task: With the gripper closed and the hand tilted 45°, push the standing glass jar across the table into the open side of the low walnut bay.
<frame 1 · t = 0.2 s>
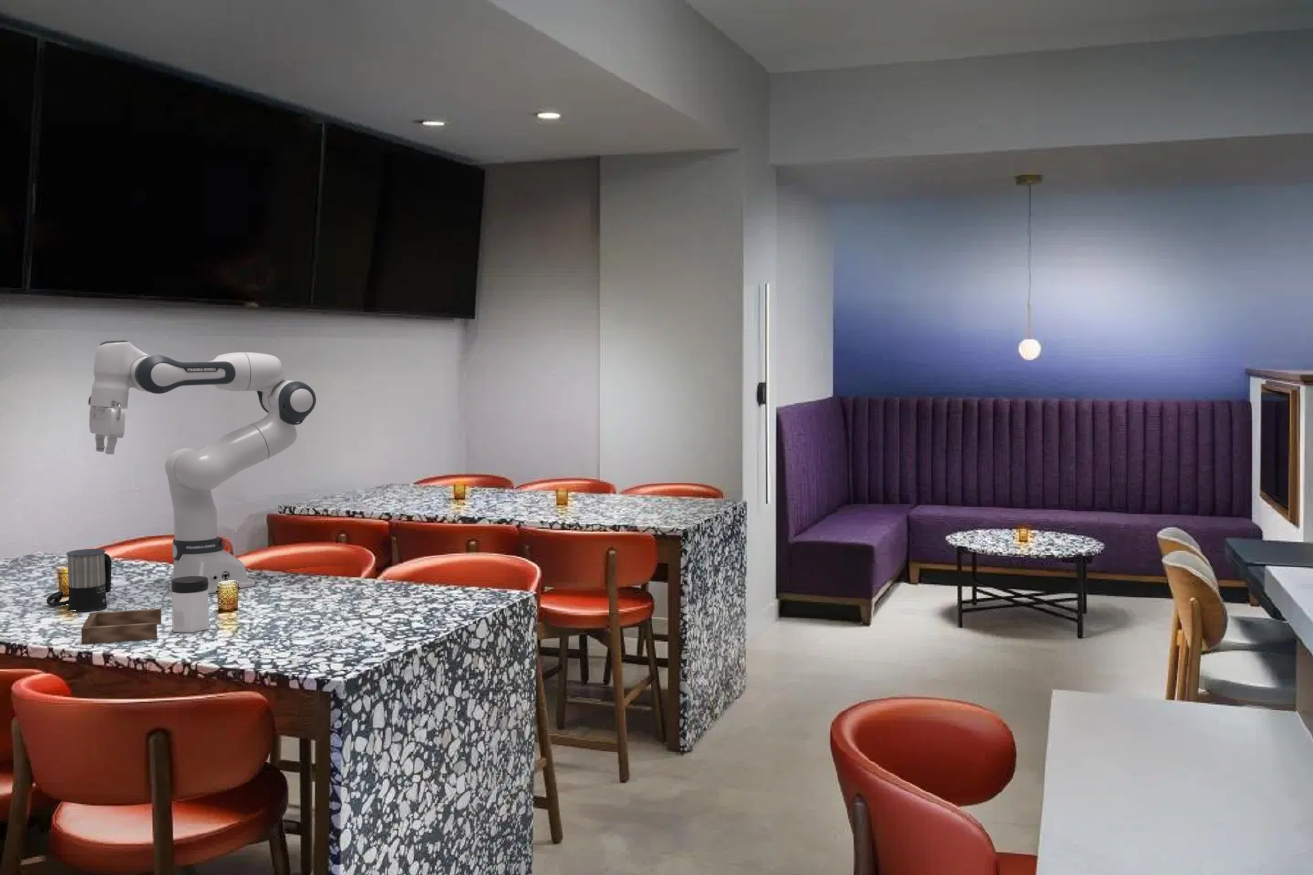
hand: (104, 452, 302), 39 cm above the table, tool pointing down, fingers open, 8 cm apart
jar: (190, 629, 273), on the table
bay: (126, 632, 268), on the table
milk frother: (76, 607, 295), on the table
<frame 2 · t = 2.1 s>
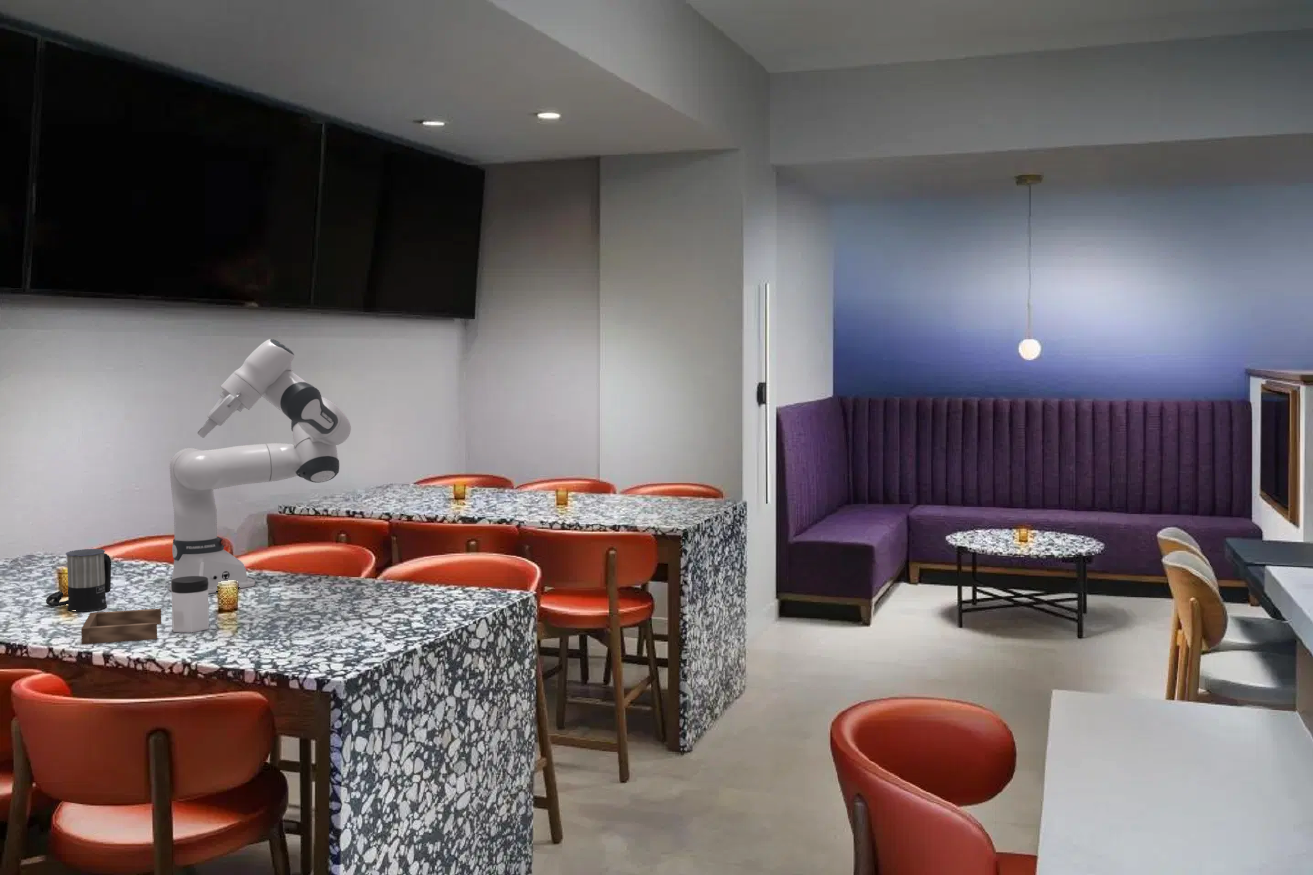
hand: (199, 435, 278), 46 cm above the table, tool tilted 40°, fingers open, 8 cm apart
nothing on the table moved.
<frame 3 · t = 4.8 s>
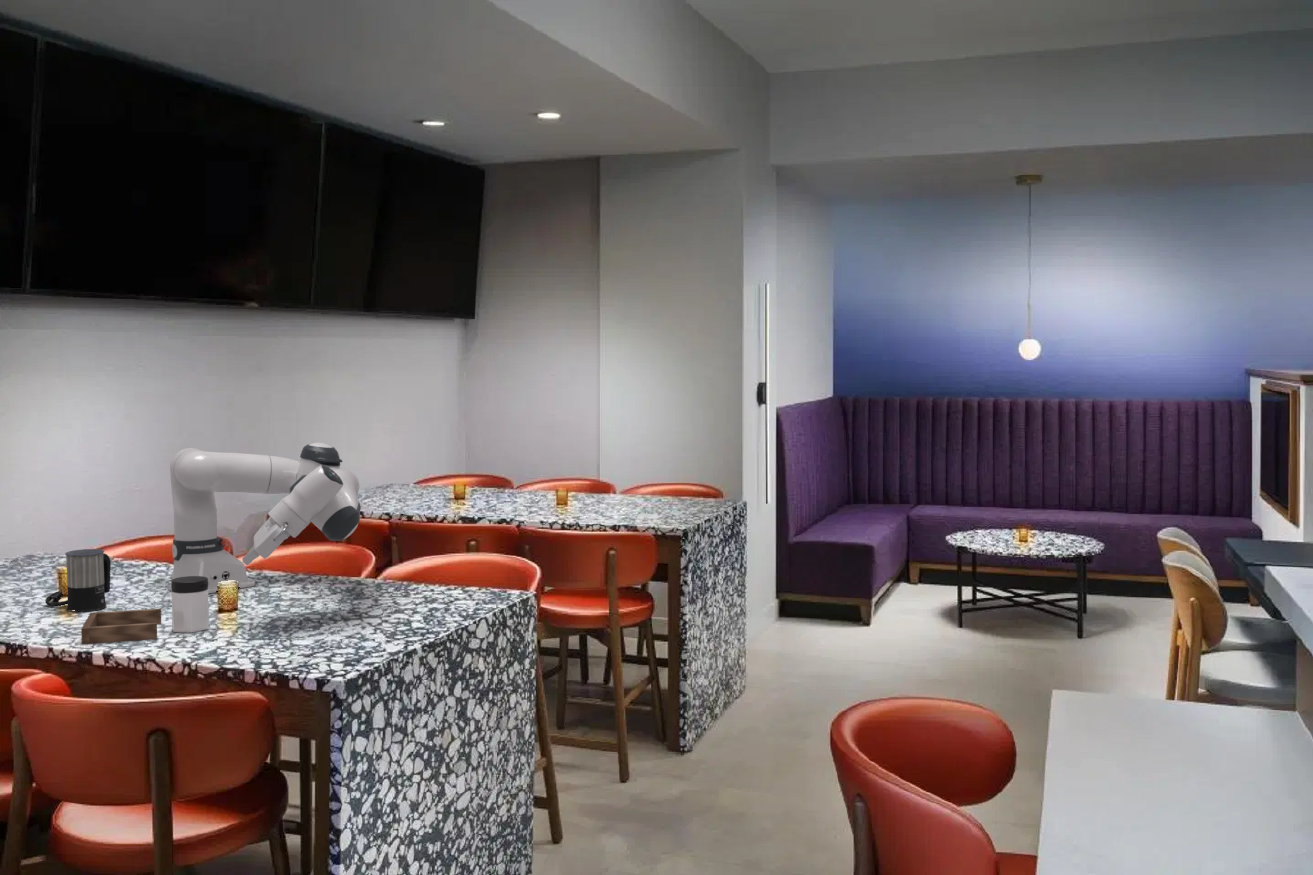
hand: (244, 562, 276), 15 cm above the table, tool tilted 45°, fingers closed
nothing on the table moved.
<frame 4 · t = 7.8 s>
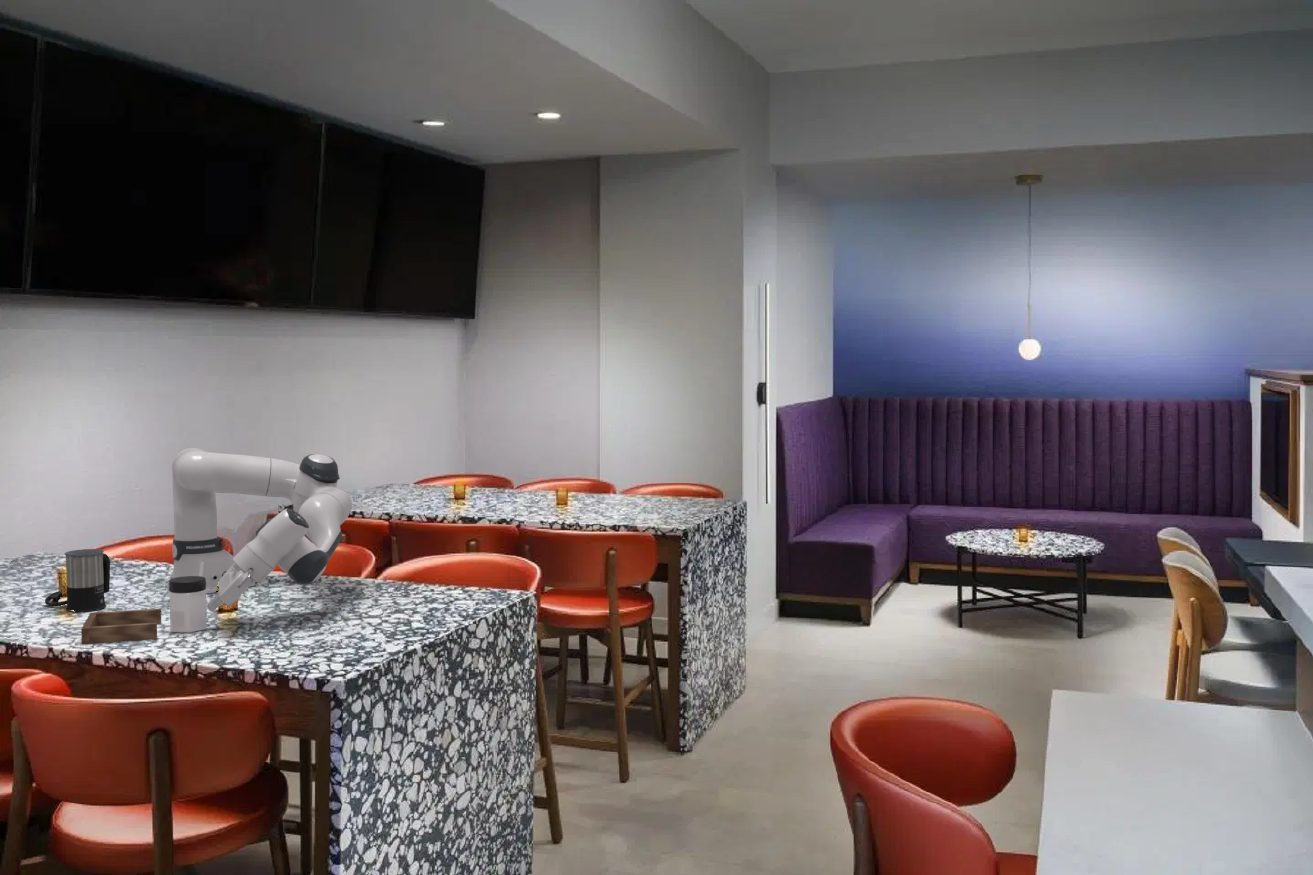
hand: (209, 608, 273), 5 cm above the table, tool tilted 45°, fingers closed, pressing on jar
jar: (188, 629, 272), on the table, touching gripper
everything else where it was.
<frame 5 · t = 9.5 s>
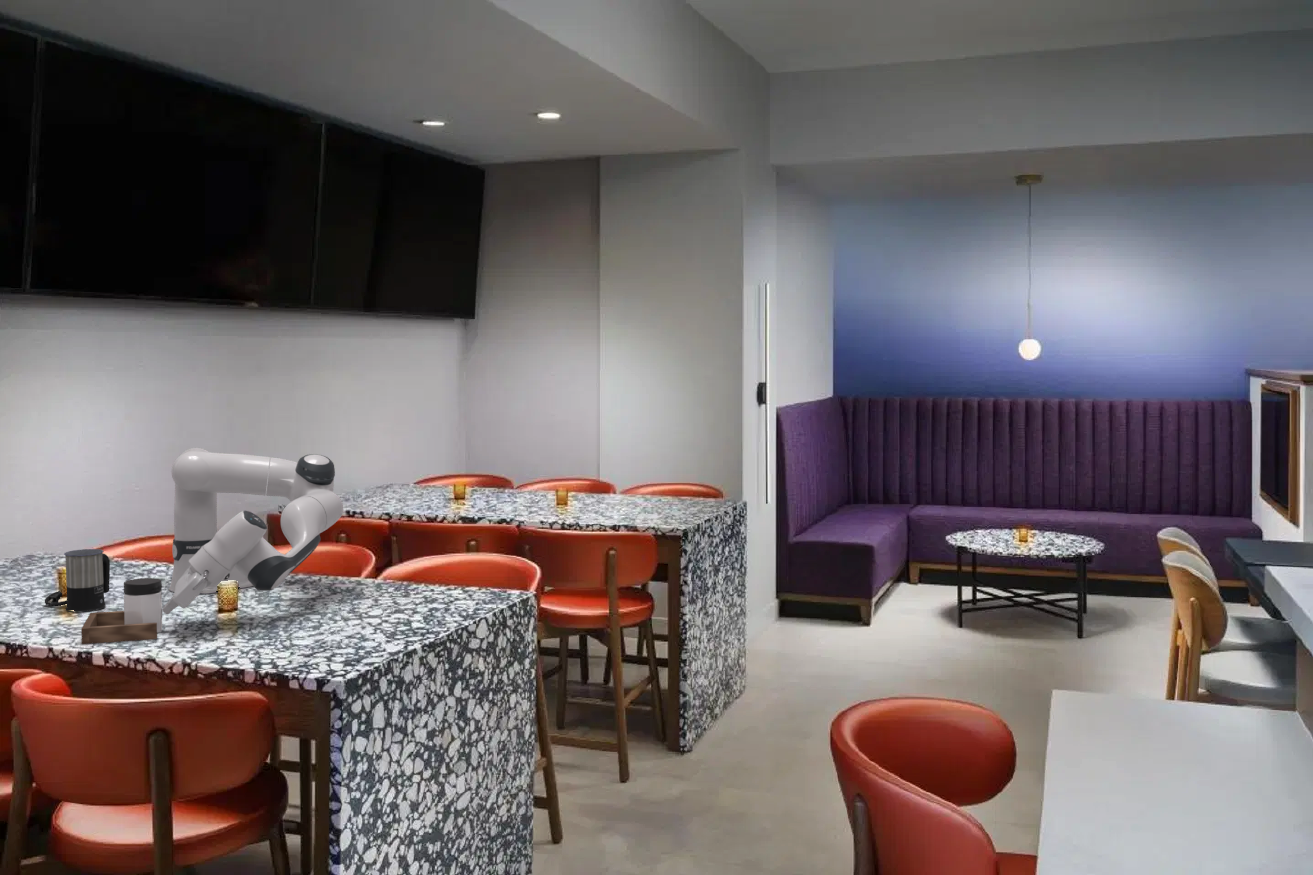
hand: (164, 611, 270), 5 cm above the table, tool tilted 45°, fingers closed
jar: (143, 632, 269), on the table, touching gripper
everything else where it was.
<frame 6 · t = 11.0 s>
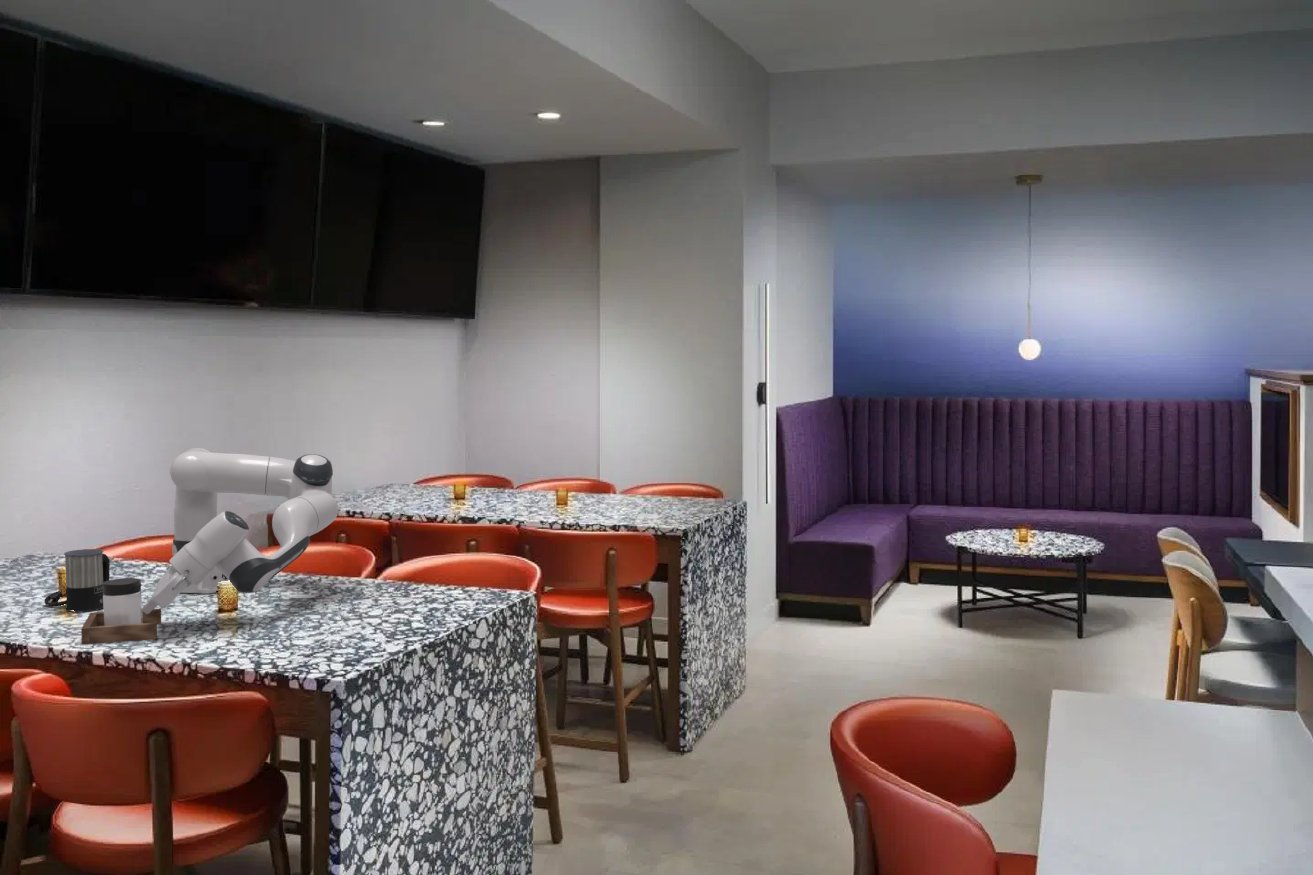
hand: (144, 611, 269), 5 cm above the table, tool tilted 45°, fingers closed, pressing on jar
jar: (124, 632, 269), on the table, touching gripper
everything else where it was.
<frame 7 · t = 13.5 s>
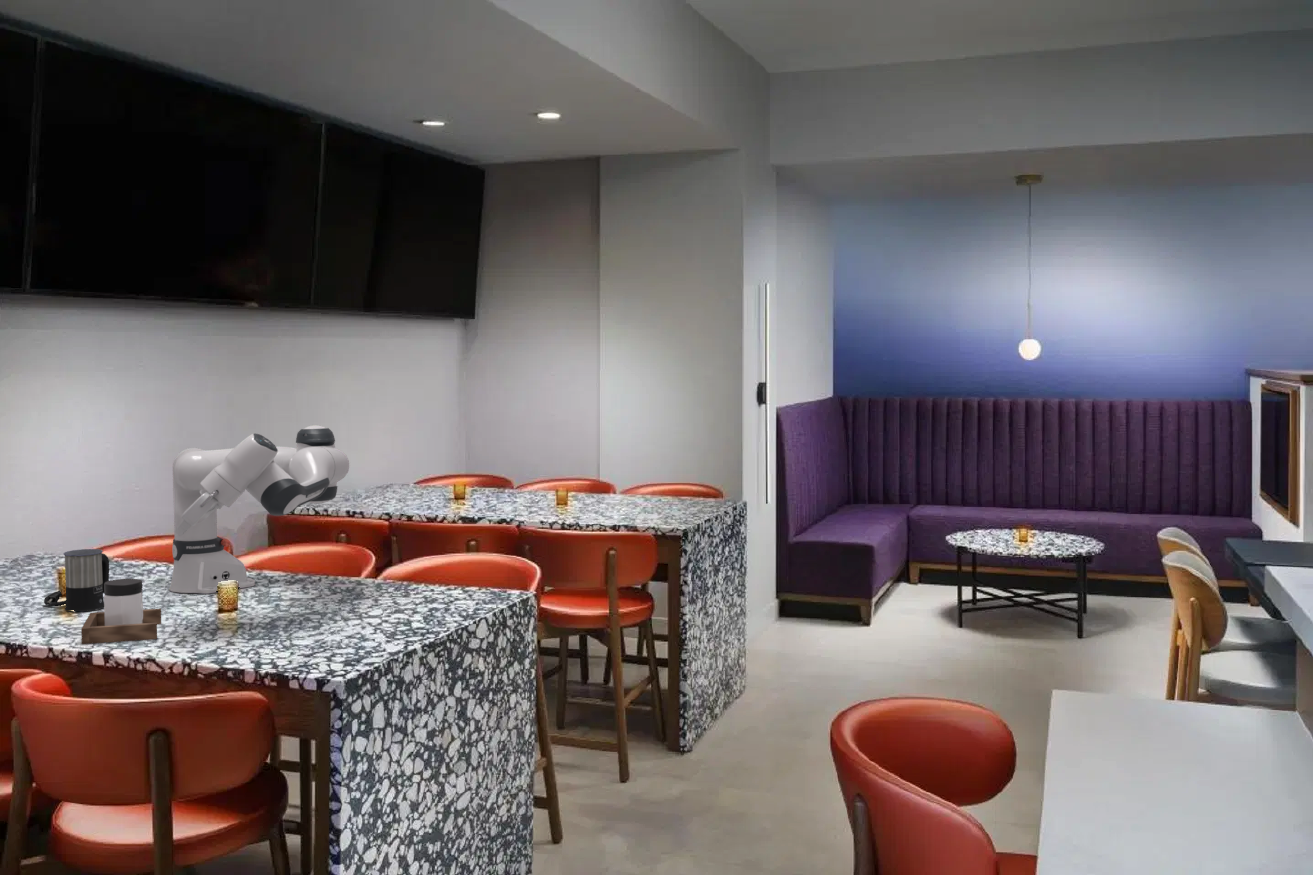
hand: (177, 533, 271), 23 cm above the table, tool tilted 45°, fingers closed
jar: (124, 632, 269), on the table
everything else where it was.
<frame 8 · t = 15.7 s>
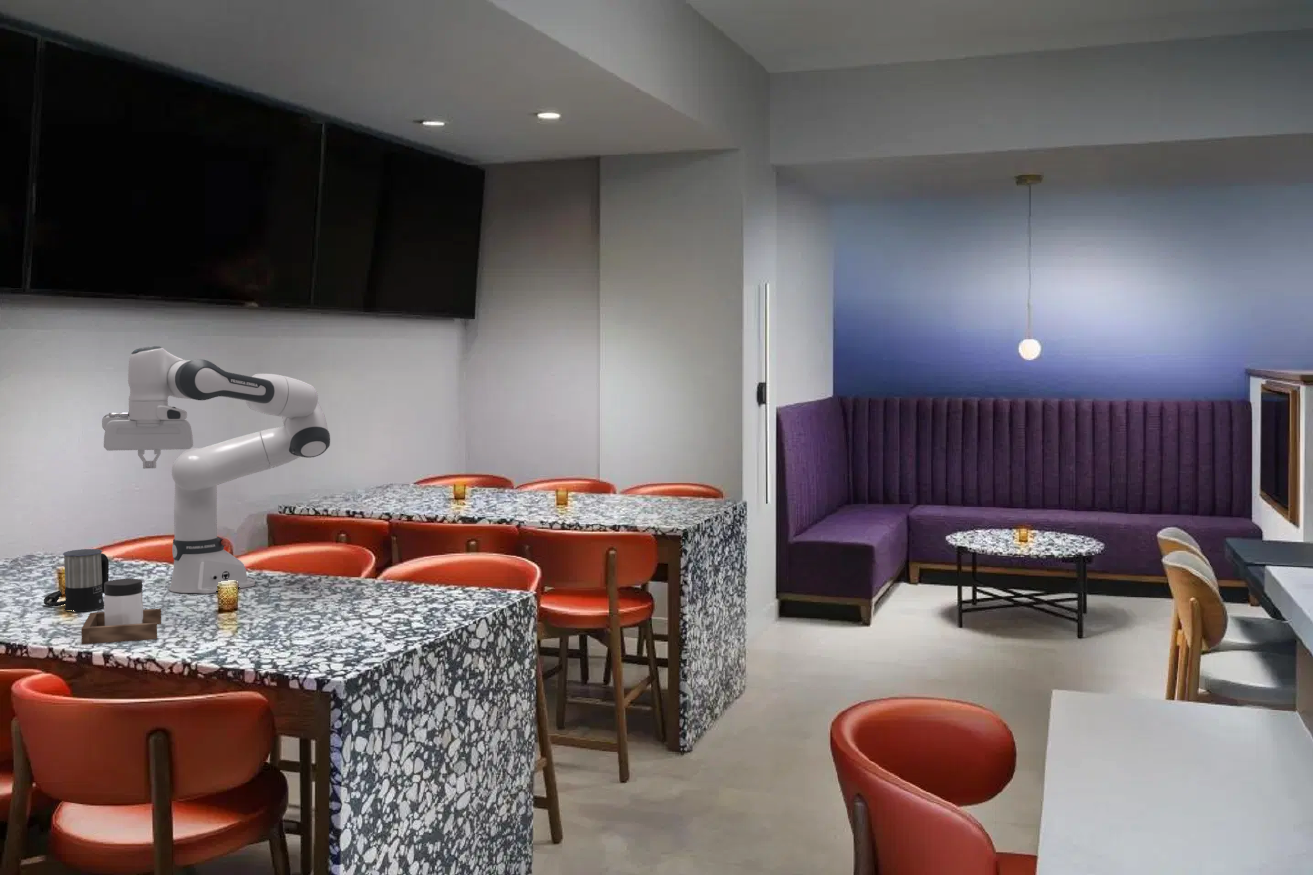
hand: (149, 468, 283), 37 cm above the table, tool pointing down, fingers closed
nothing on the table moved.
at the end: jar inside the target area on the bay (1.0 cm from its centre), point 0.0 cm above the bay's base; jar tilted 0°; jar moved 14.5 cm from its start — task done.
